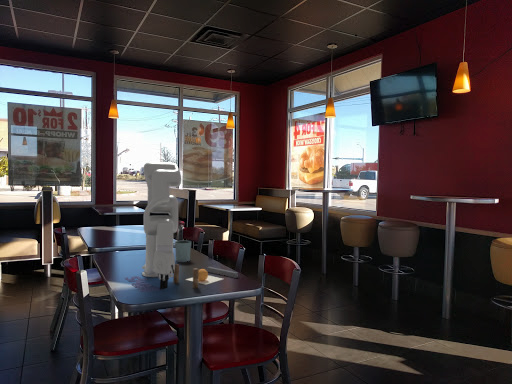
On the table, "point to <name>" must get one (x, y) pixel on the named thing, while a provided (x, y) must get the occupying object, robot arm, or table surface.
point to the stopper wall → (222, 272)
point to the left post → (176, 274)
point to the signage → (141, 284)
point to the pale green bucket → (183, 250)
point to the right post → (195, 277)
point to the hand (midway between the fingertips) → (163, 288)
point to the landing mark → (207, 280)
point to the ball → (202, 274)
